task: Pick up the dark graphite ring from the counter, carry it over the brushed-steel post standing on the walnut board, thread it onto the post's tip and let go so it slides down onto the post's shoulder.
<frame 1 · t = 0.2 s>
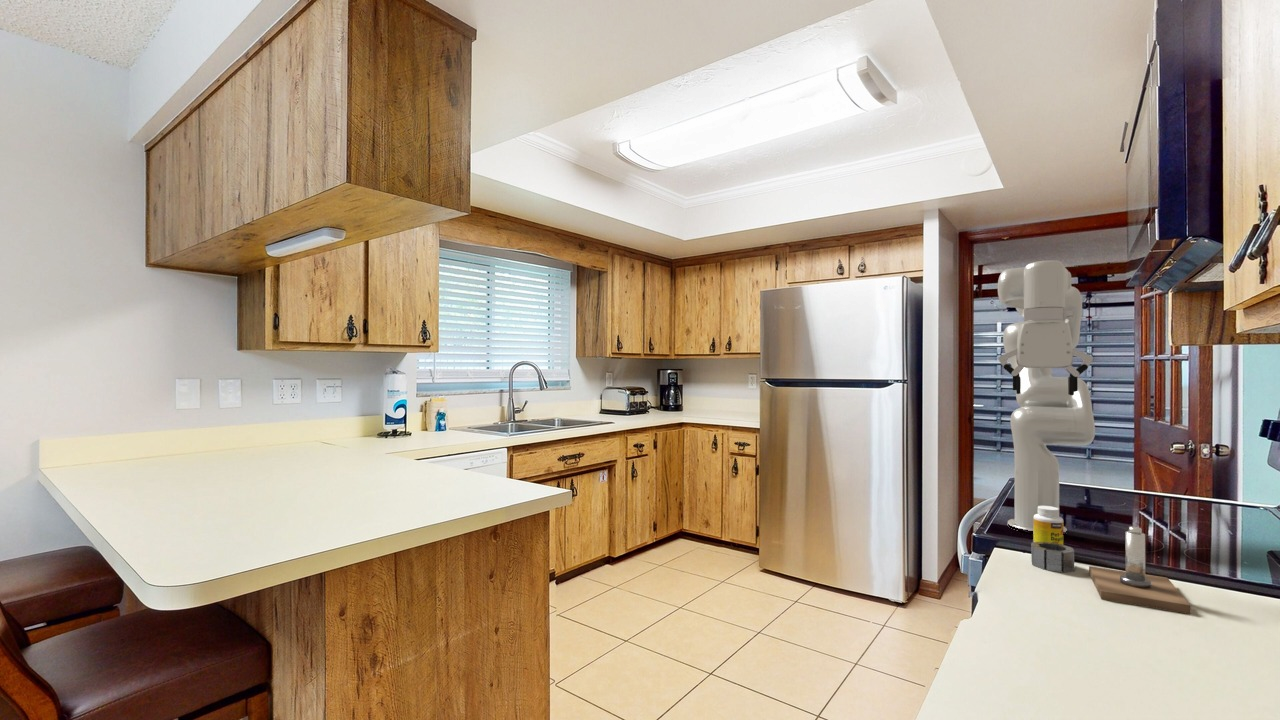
hand: (1044, 394, 128), 36 cm above the counter, tool pointing down, fingers open, 9 cm apart
shaft: (1135, 555, 108), on the base board, point 7 cm above the counter
ring: (1052, 565, 122), on the counter
supplement bottle: (1048, 553, 131), on the counter
base board: (1135, 592, 108), on the counter
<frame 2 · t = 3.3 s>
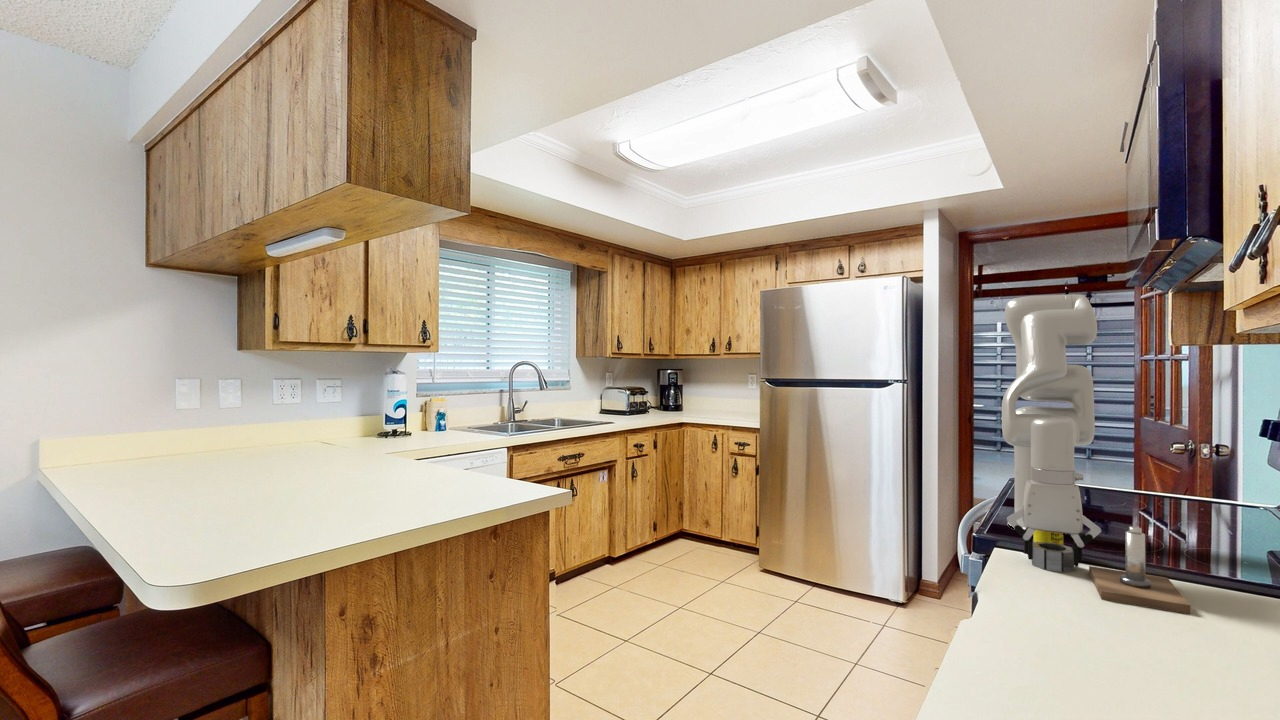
hand: (1052, 560, 122), 1 cm above the counter, tool pointing down, fingers closed on ring, 7 cm apart
ring: (1052, 566, 122), on the counter, touching gripper
everything else where it was.
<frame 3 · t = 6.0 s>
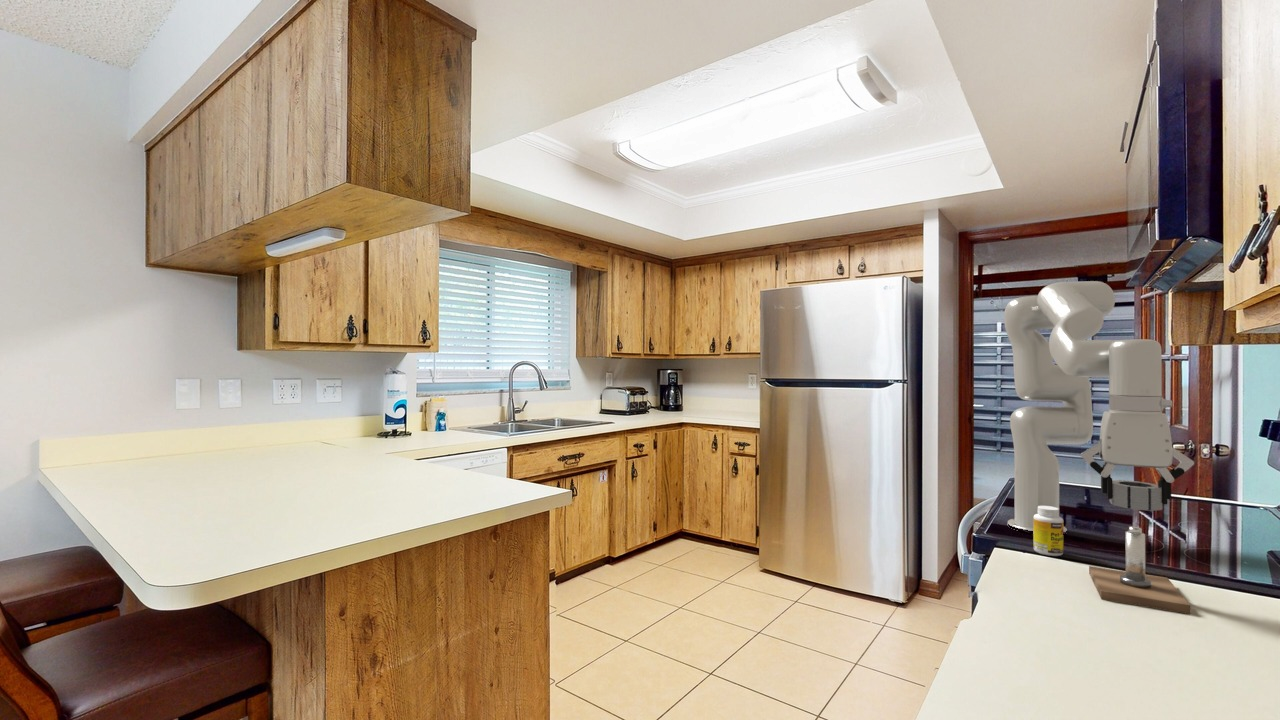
hand: (1135, 499, 108), 17 cm above the counter, tool pointing down, fingers closed on ring, 7 cm apart
ring: (1135, 505, 108), point 16 cm above the counter, touching gripper
everything else where it was.
when the fingers open (10 cm above the counter, at t = 8.8 s): ring drops 7 cm, resting on base board.
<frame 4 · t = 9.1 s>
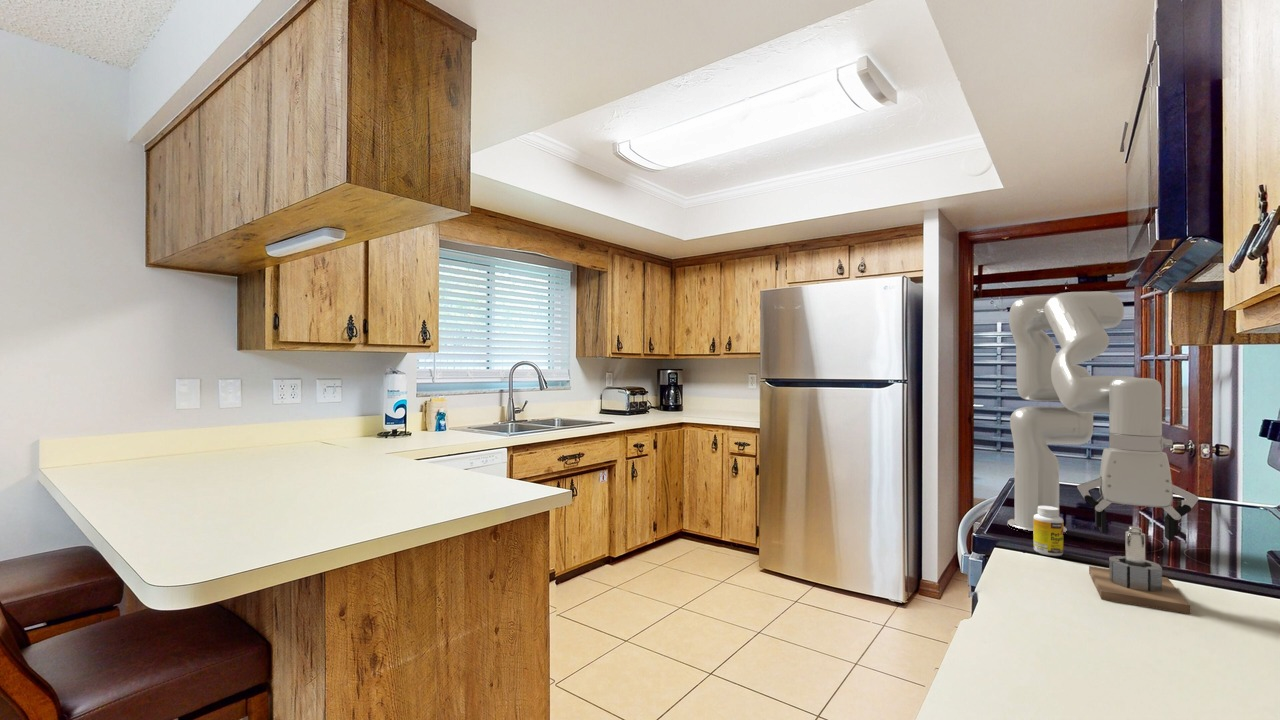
hand: (1135, 535, 108), 11 cm above the counter, tool pointing down, fingers open, 9 cm apart
ring: (1135, 583, 108), point 1 cm above the counter, touching base board
everything else where it was.
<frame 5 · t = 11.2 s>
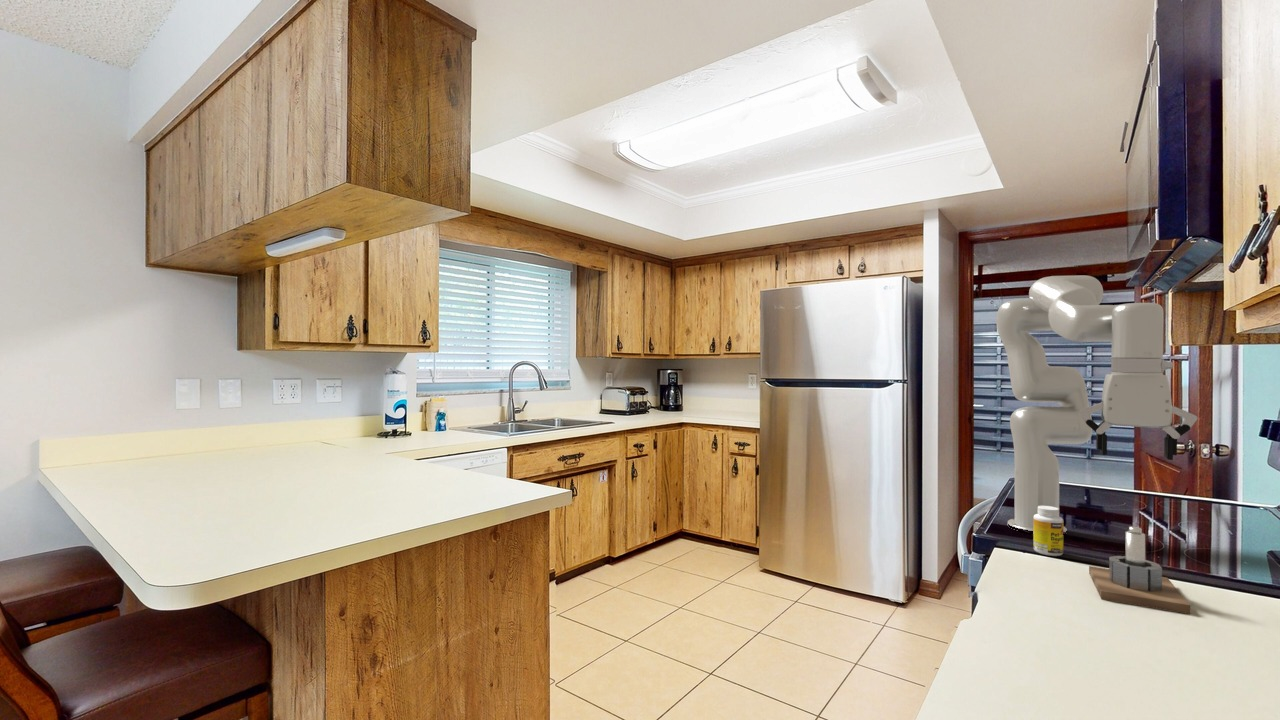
hand: (1135, 456, 112), 25 cm above the counter, tool pointing down, fingers open, 9 cm apart
nothing on the counter moved.
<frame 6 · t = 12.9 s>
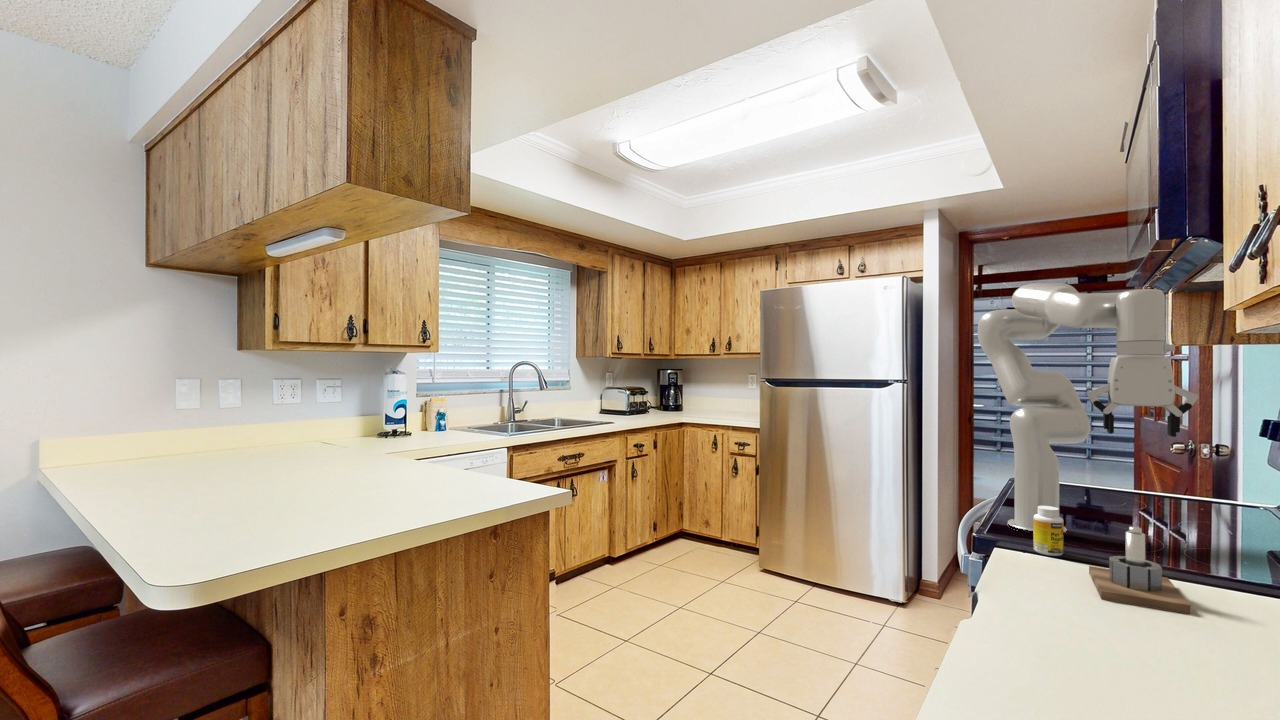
hand: (1140, 434, 118), 28 cm above the counter, tool pointing down, fingers open, 9 cm apart
nothing on the counter moved.
at the end: ring 0.0 cm off-centre on the shaft, point 1.5 cm above the shaft's base; the gripper is holding nothing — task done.
